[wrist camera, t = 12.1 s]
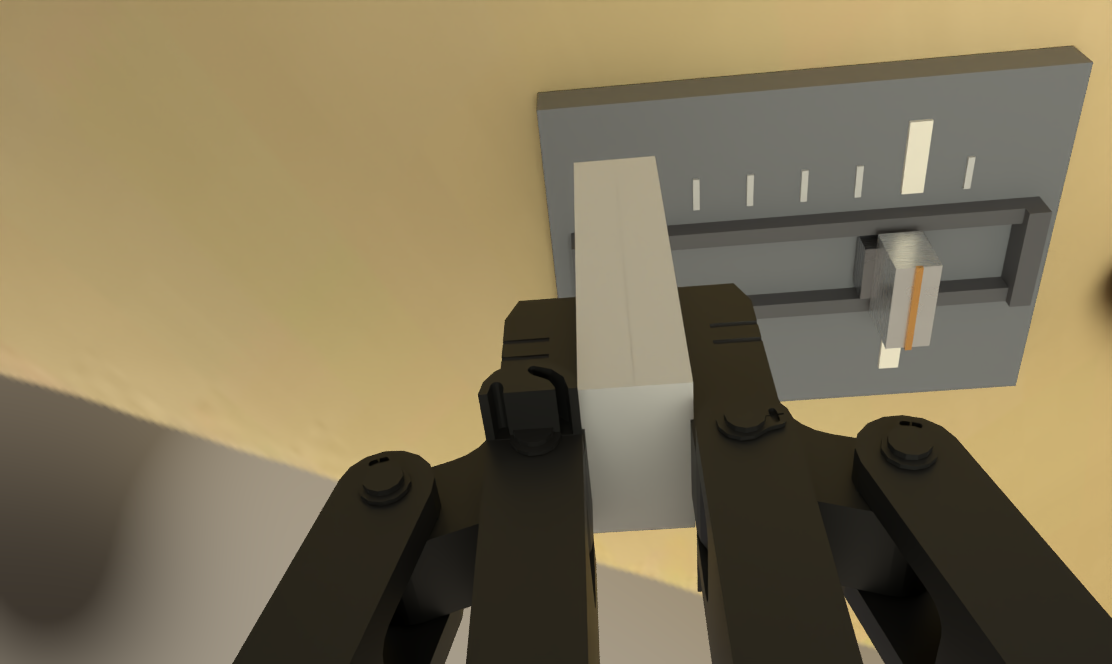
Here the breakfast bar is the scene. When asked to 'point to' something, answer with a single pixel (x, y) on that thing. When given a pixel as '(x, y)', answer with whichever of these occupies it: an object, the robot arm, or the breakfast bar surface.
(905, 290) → the fader
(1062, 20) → the breakfast bar surface
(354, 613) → the robot arm
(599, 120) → the console
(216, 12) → the breakfast bar surface
